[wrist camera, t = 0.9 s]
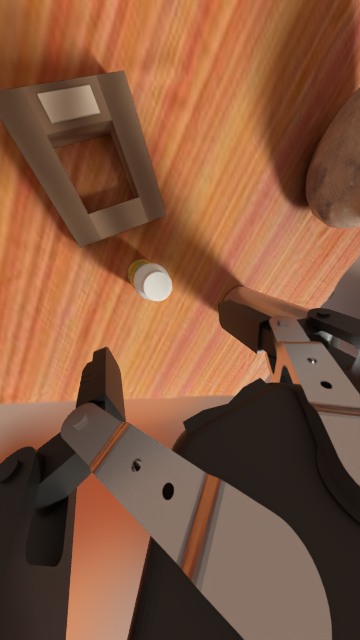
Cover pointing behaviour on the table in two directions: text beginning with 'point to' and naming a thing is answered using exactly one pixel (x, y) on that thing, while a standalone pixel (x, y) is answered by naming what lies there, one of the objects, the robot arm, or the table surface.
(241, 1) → the table surface
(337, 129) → the ceramic bowl
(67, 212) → the socket holder
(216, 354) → the table surface
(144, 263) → the supplement bottle
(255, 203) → the table surface
